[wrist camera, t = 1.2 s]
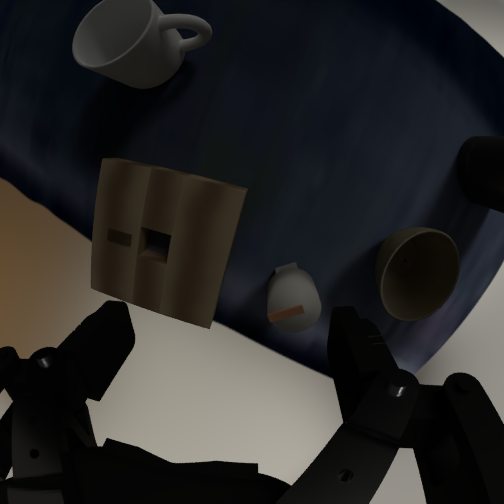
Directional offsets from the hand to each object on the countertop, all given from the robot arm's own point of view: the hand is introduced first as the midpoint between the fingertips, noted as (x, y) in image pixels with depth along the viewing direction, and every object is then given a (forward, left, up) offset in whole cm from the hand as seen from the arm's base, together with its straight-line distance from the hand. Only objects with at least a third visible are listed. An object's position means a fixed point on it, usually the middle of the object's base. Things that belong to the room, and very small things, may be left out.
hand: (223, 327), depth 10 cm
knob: (-6, +5, -21) cm, 22 cm away
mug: (+14, -16, -21) cm, 30 cm away
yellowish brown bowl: (-18, -1, -21) cm, 27 cm away
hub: (+9, +5, -21) cm, 23 cm away
